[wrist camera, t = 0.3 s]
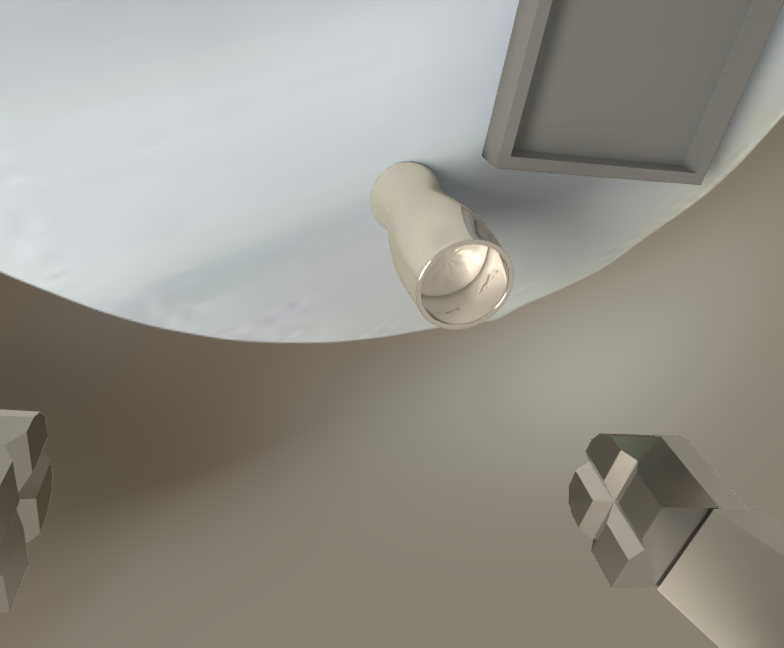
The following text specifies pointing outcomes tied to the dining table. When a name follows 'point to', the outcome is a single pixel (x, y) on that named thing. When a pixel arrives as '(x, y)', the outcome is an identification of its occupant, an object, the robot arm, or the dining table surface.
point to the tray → (624, 85)
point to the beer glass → (440, 248)
